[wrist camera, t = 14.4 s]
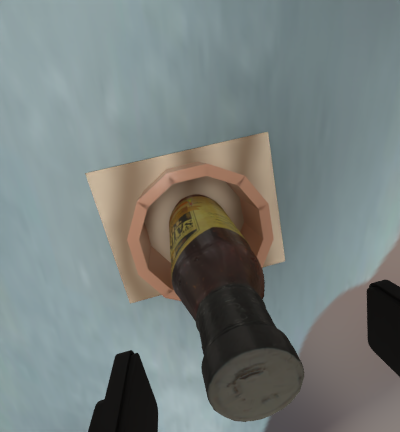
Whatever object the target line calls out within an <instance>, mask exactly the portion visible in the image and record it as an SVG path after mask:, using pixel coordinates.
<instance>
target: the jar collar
mask: <svg viewBox="0 0 400 432" xmlns="http://www.w3.org/2000/svg"><path fill="white" fill-rule="evenodd" d="M204 176H209V177H212V178H215V179H219V180H222V181H225V182H226V183H227V184H228V185H229V186H230V187H231V189H232V190H233V191H234V192H235V193H236V194H237V195H238V197H239V198H240V202H241V208H242V214H243V219H244V223H243V226H242V229H241V232H240V233H241V234H242V235H243V237H244V238H245V240H246V241H247V242H248V244H249V246H250V248H251V250H252V251H253V252H254V254H255V256H256V257H257V259H258V260H259V263H260V264H261V267H262V268H263V265H264V263H265V260H266V257H267V255H268V252H269V250H270V247H271V245H272V242H273V240H274V238H273V231H272V224H271V217H270V210H269V204H268V203H267V201H266V200H265V199H264V198H263V197H262V195H261V194H260V193H259V192H258V191H257V189H256V188H255V187H254V186H253V185H252V184H251V182H250V181H249V180H248V179H247V178H246V176H244V175H241V174H238V173H235V172H232V171H229V170H226V169H223V168H220V167H216V166H213V165H210V164H207V163H203V162H199V161H198V162H193V163H189V164H185V165H180V166H176V167H172V168H167V169H166V170H165V171H164V172H162V173H161V174H160V175H159V176H158V177H157V178H156V179H155V180H154V181H153V182H152V183H151V184H150V185H149V186H148V187H147V188H146V189H145V190H144V191H143V192H142V194H141V196H140V197H139V199H138V201H137V203H136V207H135V211H134V215H133V219H132V222H131V226H130V230H129V234H128V238H127V241H128V244H129V248H130V251H131V254H132V257H133V260H134V263H135V266H136V269H137V272H138V275H139V276H140V277H141V278H143V279H144V280H145V281H146V282H147V283H149V284H150V285H151V286H152V287H153V288H154V289H156V290H157V291H158V292H159V293H160V294H161V295H163V296H164V297H165V298H169V299H174V300H179V301H181V300H180V298H179V297H178V296H177V294H176V293H175V291H174V289H173V286H172V277H171V263H170V262H169V261H168V260H167V259H166V258H164V257H163V256H162V255H161V254H160V253H159V252H158V251H157V250H156V249H155V248H153V247H152V246H151V242H150V239H149V235H148V232H147V229H146V225H145V222H144V221H145V218H146V214H147V210H148V207H149V206H150V205H151V204H152V203H153V202H154V201H155V200H156V199H157V198H159V197H160V196H161V195H162V194H163V193H164V192H165V191H166V190H167V189H168V188H169V187H170V186H171V185H172V184H174V183H179V182H183V181H187V180H191V179H195V178H200V177H204Z"/></svg>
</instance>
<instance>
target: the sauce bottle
mask: <svg viewBox="0 0 400 432" xmlns="http://www.w3.org/2000/svg"><path fill="white" fill-rule="evenodd" d="M169 236H170V258H171V277H172V286H173V289H174V291H175V293H176V294H177V296H178V297H179V298H180V300H181V301H182V303H183V304H184V305H185V307H186V308H187V310H188V311H189V312H190V314H191V315H192V317H193V318H194V320H195V321H196V327H197V329H198V331H199V332H200V337H201V343H202V349H203V354H204V357H203V361H202V374H203V378H204V383H205V388H206V392H207V397H208V400H209V402H210V404H211V405H212V407H213V409H214V410H215V411H216V412H218V413H219V414H221V415H223V416H224V417H226V418H229V419H231V420H234V421H243V422H247V421H254V420H259V419H263V418H266V417H268V416H271V415H273V414H274V413H276V412H278V411H280V410H282V409H283V408H285V407H286V406H287V405H288V404H290V403H291V401H292V400H293V399H294V398H295V397H296V395H297V394H298V393H299V391H300V388H301V385H302V381H303V378H304V369H303V366H302V363H301V361H300V359H299V357H298V355H297V353H296V351H295V349H294V348H293V346H292V345H291V343H290V341H289V340H288V338H287V337H286V335H285V334H284V333H283V332H282V331H280V330H279V329H277V328H276V326H275V324H274V323H273V321H272V319H271V317H270V315H269V314H268V312H267V310H266V307H265V304H264V302H263V300H262V299H263V297H264V291H265V290H264V283H265V282H264V274H263V270H262V267H261V264H260V263H259V260H258V259H257V257H256V256H255V254H254V252H253V251H252V250H251V248H250V246H249V244H248V242H247V241H246V240H245V238H244V237H243V235H242V234H241V233H240V231H239V230H238V229H237V228H236V226H235V225H234V223H233V222H232V221H231V219H230V218H229V217H228V215H227V214H226V213H225V211H224V210H223V208H222V207H221V206H220V205H219V204H218V203H217V202H216V201H214V200H213V199H211V198H209V197H207V196H204V195H200V194H195V195H190V196H187V197H185V198H183V199H181V200H180V201H179V202H178V203H177V205H176V206H175V208H174V209H173V211H172V214H171V216H170V220H169Z"/></svg>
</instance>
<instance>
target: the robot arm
mask: <svg viewBox="0 0 400 432" xmlns="http://www.w3.org/2000/svg"><path fill="white" fill-rule="evenodd" d="M367 325H368V343H369V345H370V347H371V349H372V350H373V351H374V352H375V353H376V354H377V355H378V356H379V357H380V358H381V359H382V360H383V361H384V362H385V363H386V364H387V365H388V366H389V367H390V368H391V369H392V370H393V371H394V372H396V374H398V376H400V287H399V286H397V285H395V284H394V283H392V282H390V281H388V280H382V281H378V282H375V283H371V284H370V286H369V288H368V289H367ZM88 432H158V407H157V403H156V400H155V397H154V394H153V392H152V389H151V386H150V384H149V381H148V378H147V375H146V373H145V370H144V367H143V364H142V362H141V359H140V356H139V354H138V353H135V354H134V353H133V351H132V350H130V351H127V352H123V353H120V354H117V355H116V356H115V359H114V363H113V367H112V371H111V375H110V380H109V384H108V388H107V392H106V396H105V399H104V400H101V401H99V402H98V403H97V404H96V406H95V409H94V412H93V416H92V419H91V423H90V427H89V430H88Z"/></svg>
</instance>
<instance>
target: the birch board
mask: <svg viewBox="0 0 400 432" xmlns="http://www.w3.org/2000/svg"><path fill="white" fill-rule="evenodd" d="M198 161H199V162H203V163H207V164H210V165H213V166H216V167H220V168H223V169H226V170H229V171H232V172H235V173H238V174H241V175H244V176H246V178H247V179H248V180H249V181H250V182H251V184H252V185H253V186H254V187H255V188H256V189H257V191H258V192H259V193H260V194H261V195H262V197H263V198H264V199H265V200H266V201H267V203H268V204H269V210H270V217H271V224H272V231H273V238H274V240H273V242H272V245H271V247H270V250H269V252H268V255H267V257H266V260H265V263H264V265H263V267H266V266H269V265H273V264H277V263H280V262H284V261H285V256H284V248H283V241H282V233H281V226H280V218H279V211H278V203H277V196H276V189H275V181H274V174H273V166H272V159H271V151H270V144H269V136H268V132H265V133H260V134H256V135H251V136H247V137H242V138H238V139H234V140H229V141H225V142H221V143H216V144H212V145H207V146H203V147H199V148H194V149H190V150H185V151H181V152H177V153H172V154H168V155H163V156H159V157H155V158H150V159H146V160H141V161H137V162H133V163H128V164H124V165H120V166H115V167H111V168H106V169H102V170H98V171H93V172H89V173H85V174H86V177H87V180H88V182H89V185H90V188H91V191H92V194H93V197H94V200H95V203H96V206H97V209H98V211H99V214H100V217H101V220H102V223H103V226H104V229H105V232H106V235H107V238H108V240H109V243H110V246H111V249H112V252H113V255H114V258H115V261H116V264H117V267H118V269H119V272H120V275H121V278H122V281H123V284H124V287H125V290H126V293H127V296H128V298H129V301H130V303H134V302H137V301H141V300H145V299H148V298H152V297H156V296H159V295H161V294H160V293H159V292H158V291H157V290H156V289H154V288H153V287H152V286H151V285H150V284H149V283H147V282H146V281H145V280H144V279H143V278H141V277H140V276H139V275H138V272H137V269H136V266H135V263H134V260H133V257H132V254H131V251H130V248H129V244H128V241H127V238H128V234H129V230H130V226H131V222H132V219H133V215H134V211H135V207H136V203H137V201H138V199H139V197H140V196H141V194H142V192H143V191H144V190H145V189H146V188H147V187H148V186H149V185H150V184H151V183H152V182H153V181H154V180H155V179H156V178H157V177H158V176H159V175H160V174H161V173H162V172H164V171H165V170H166V169H167V168H172V167H176V166H180V165H185V164H189V163H193V162H198ZM195 194H200V195H204V196H207V197H209V198H211V199H213V200H214V201H216V202H217V203H218V204H219V205H220V206H221V207H222V208H223V210H224V211H225V213H226V214H227V215H228V217H229V218H230V219H231V221H232V222H233V223H234V225H235V226H236V228H237V229H238V230H239V231H240V232H241V229H242V226H243V223H244V219H243V214H242V208H241V202H240V198H239V197H238V195H237V194H236V193H235V192H234V191H233V190H232V189H231V187H230V186H229V185H228V184H227V183H226V182H225V181H222V180H219V179H215V178H212V177H209V176H204V177H200V178H195V179H191V180H187V181H183V182H179V183H174V184H172V185H171V186H170V187H169V188H168V189H167V190H166V191H165V192H164V193H163V194H162V195H161V196H160V197H159V198H157V199H156V200H155V201H154V202H153V203H152V204H151V205H150V206H149V207H148V210H147V214H146V218H145V221H144V222H145V225H146V229H147V232H148V235H149V239H150V242H151V246H152V247H153V248H155V249H156V250H157V251H158V252H159V253H160V254H161V255H162V256H163V257H164V258H166V259H167V260H168V261H169V262H170V263H171V258H170V236H169V220H170V216H171V214H172V211H173V209H174V208H175V206H176V205H177V203H178V202H179V201H180V200H181V199H183V198H185V197H187V196H190V195H195Z"/></svg>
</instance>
